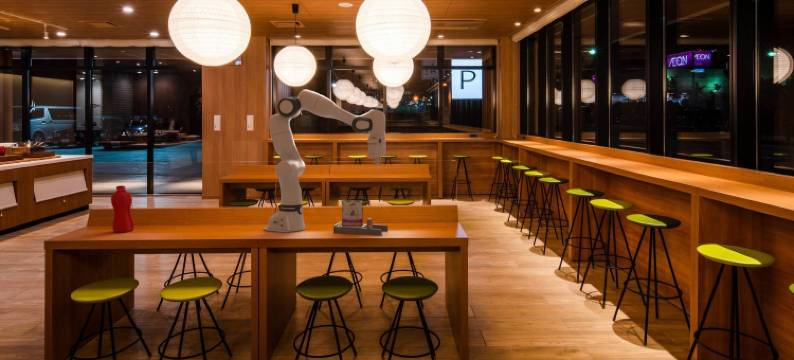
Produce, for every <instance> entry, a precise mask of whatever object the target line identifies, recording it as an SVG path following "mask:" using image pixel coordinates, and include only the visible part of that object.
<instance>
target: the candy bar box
mask: <svg viewBox="0 0 794 360" xmlns="http://www.w3.org/2000/svg"><path fill="white" fill-rule="evenodd" d="M341 202H342V204H341V207H342V208H341V209H342V210H341V221H342V226H352V227H362V226H363V224H364V223H363V222H364V221H363V220H364V217H363V216H364V201H363V200H342V201H341Z"/></svg>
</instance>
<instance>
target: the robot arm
mask: <svg viewBox="0 0 794 360" xmlns="http://www.w3.org/2000/svg"><path fill="white" fill-rule="evenodd" d="M276 108H277V111H278V112H277V113H275V114H272V115H271V116H270V117H269V119H268V127H269V133H270V138H271V140H272V145H273V148H274V151H275V153H277V155H278V157H279V159H280V161H279V162H278V163H277V164H276V166H275V175H276V176H277V178H278V182H279V187H280V195H281V199H280V200H281V203H280V204H279V205H277V209H278V211H276V212H275V213H274V214H273V215H271V217H269V218H268V223H267V225H266V226H265V227H263V230H264V231H267V232H268V231H270V232H277V233H279V232H280V233H290V232H300V231H304V230H306V225H305V219H304V204H303V195H302V193H303V191H302V188H301V186H300V180H299V177H300V176H302V175H303V173H304V172H305V170H306V163H305V162H304V160H303V159H302V157H301V155H300V153H299V150H298V148H297V147H296V144H295V140H294V137H293V133H292V129H291V125H290V122H292V121H293V120H294V119H296V118H298V117H299V116H301V113H302V111H307V112H309V113H311V114H313V115H316V116H318V117H323V118H329V119H335V120H339V121H340V122H343V123H345V124H347V125H348V126H351V128H352V130H353V131H354V132H355V133H357V134H360V135H365V134H367V133H368V138H367V140H366V144H367V153H368V157H369V158H370V159H371V158H372V159H373V160H374V163H375V164H374V165H375V166H380V164H381V159H382V157H384V156H386V154H387V153H386V152H387V151H386V150H387V149H386V147H387V146H386V143H387V142H386V139H387V138H386V115H385V113H384V112H383V111H382V110H379V109H370V110H369V111H367V112H365V113H363V114H361V115H357V114H353V113H351V112H349V111H347V110H345V109H343V108H342V107H340V106H338V104H336V103H335V102H334V101H333V100H331V99H330V98H328V97H326V96H325V95H323V94H320V93H318V92H315V91H314V90H313V91H312V90H309V89H302V90H301V91H299V93H298V95H297V96H285V97H282V98H281V99H279V100H278V103H277V107H276Z"/></svg>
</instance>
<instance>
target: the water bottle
mask: <svg viewBox="0 0 794 360" xmlns="http://www.w3.org/2000/svg"><path fill="white" fill-rule="evenodd" d="M115 188H116V191H114V193H112V194H111V196H110V203H111V204H110V205H111V207H112V209H113V217H112V218H113V219H112V231H113V232H114V233H128V232H132V231H134V229H135V223H134V219H133V217H132V214H131V210H132V209H133V197H132V194H131V193H130V192H129V191H127V190H126V186H125V185H117V186H116V187H115Z"/></svg>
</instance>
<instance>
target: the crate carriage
mask: <svg viewBox="0 0 794 360" xmlns="http://www.w3.org/2000/svg"><path fill="white" fill-rule="evenodd" d="M336 227H349V228H367V229H373V217H368V218H366V223H363V226H362V227H352V226H342V223H341V224H339V225H337V226H336Z"/></svg>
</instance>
